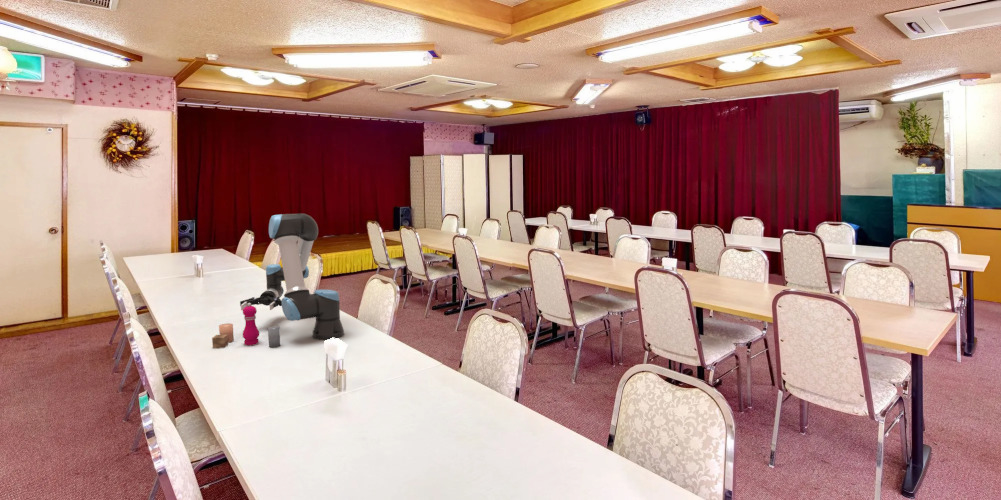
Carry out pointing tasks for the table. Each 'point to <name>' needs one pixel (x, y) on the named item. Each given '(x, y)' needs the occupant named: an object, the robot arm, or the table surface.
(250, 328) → the pepper mill
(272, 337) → the charcoal salt shaker
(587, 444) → the table surface
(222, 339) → the walnut block
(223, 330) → the peach round cylinder
